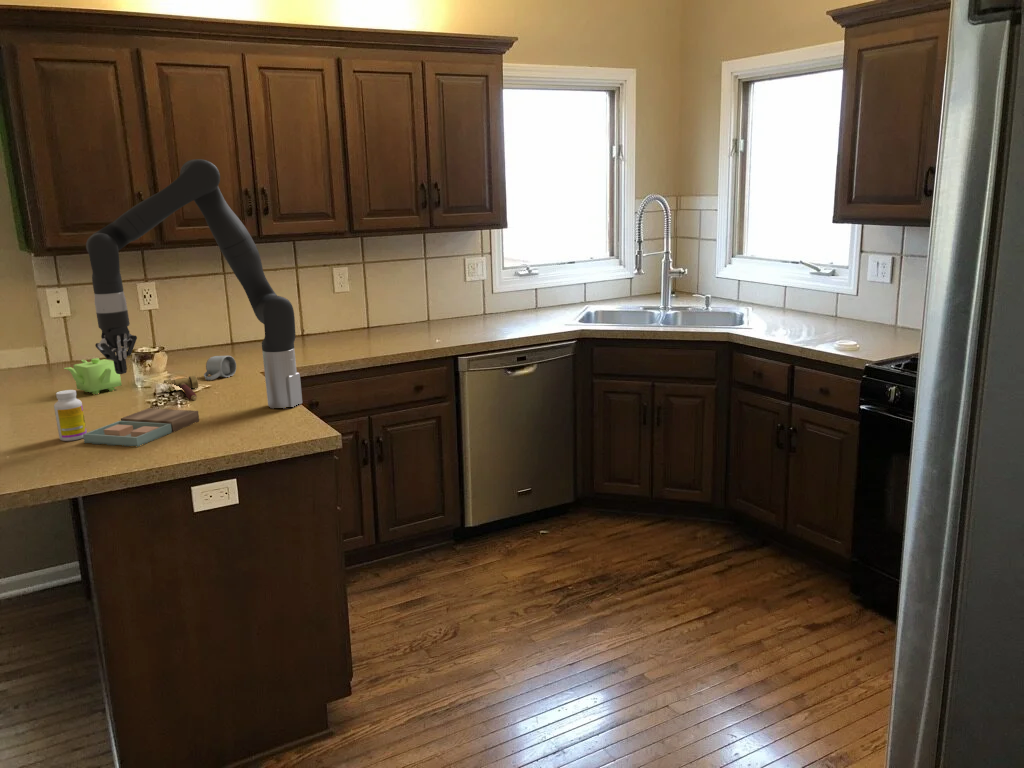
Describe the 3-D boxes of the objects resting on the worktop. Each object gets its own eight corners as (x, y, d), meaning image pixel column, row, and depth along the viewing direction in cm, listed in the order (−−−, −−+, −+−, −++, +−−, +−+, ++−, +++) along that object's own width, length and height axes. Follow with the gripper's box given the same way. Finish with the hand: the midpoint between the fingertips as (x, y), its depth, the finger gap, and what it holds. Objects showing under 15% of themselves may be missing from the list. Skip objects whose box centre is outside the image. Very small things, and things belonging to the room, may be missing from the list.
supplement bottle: (91, 437, 219) (84, 391, 216) (65, 443, 214) (57, 396, 211) (81, 433, 224) (74, 387, 221) (55, 438, 219) (47, 392, 216)
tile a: (146, 432, 213) (147, 439, 213) (159, 427, 217) (160, 434, 218) (130, 431, 214) (131, 438, 215) (143, 426, 219) (145, 433, 219)
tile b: (119, 430, 215) (120, 437, 216) (132, 425, 220) (133, 432, 220) (103, 429, 217) (104, 436, 217) (117, 424, 221) (118, 431, 222)
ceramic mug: (220, 373, 294) (217, 352, 292) (238, 374, 291) (235, 353, 289) (198, 380, 285) (195, 359, 283) (216, 381, 282) (213, 360, 280)
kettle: (68, 398, 265) (62, 364, 262) (83, 388, 278) (77, 356, 276) (117, 394, 267) (112, 361, 265) (129, 385, 281) (124, 353, 278)
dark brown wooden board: (199, 421, 232) (198, 410, 231) (173, 432, 221) (171, 421, 221) (149, 418, 236) (148, 408, 236) (122, 428, 226) (120, 418, 226)
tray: (172, 432, 221) (170, 423, 220) (137, 447, 209) (136, 437, 208) (120, 429, 226) (119, 420, 225) (84, 443, 214) (82, 434, 213)
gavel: (210, 389, 257) (177, 394, 252) (211, 403, 258) (178, 408, 253) (194, 374, 274) (162, 378, 269) (195, 387, 275) (164, 392, 270)
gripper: (104, 313, 208) (114, 379, 212) (141, 306, 220) (150, 368, 224) (80, 313, 210) (91, 378, 214) (118, 305, 222) (128, 367, 227)
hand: (121, 373), depth 219 cm, fingers closed
